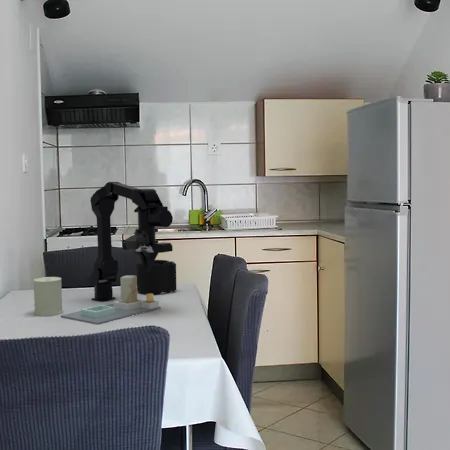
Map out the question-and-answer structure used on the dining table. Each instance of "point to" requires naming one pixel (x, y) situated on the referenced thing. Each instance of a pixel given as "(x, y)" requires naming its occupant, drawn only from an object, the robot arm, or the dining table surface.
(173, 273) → the black basket
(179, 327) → the dining table surface
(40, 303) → the can
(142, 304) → the frame
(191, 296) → the dining table surface
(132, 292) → the box
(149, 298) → the button
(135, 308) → the grey board
